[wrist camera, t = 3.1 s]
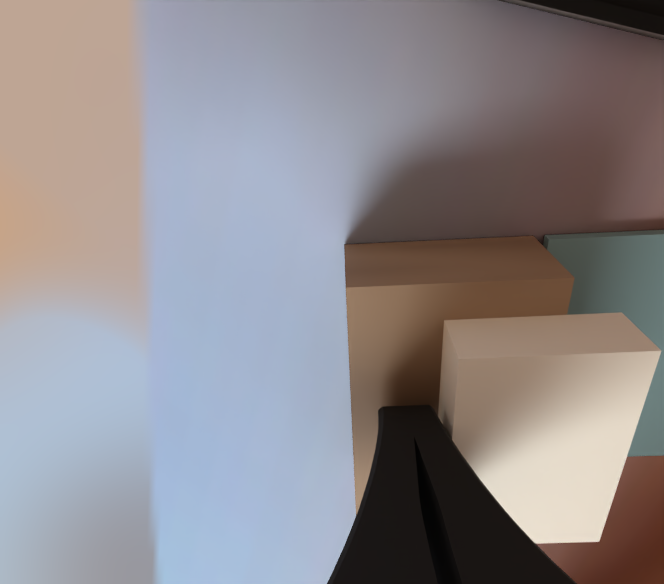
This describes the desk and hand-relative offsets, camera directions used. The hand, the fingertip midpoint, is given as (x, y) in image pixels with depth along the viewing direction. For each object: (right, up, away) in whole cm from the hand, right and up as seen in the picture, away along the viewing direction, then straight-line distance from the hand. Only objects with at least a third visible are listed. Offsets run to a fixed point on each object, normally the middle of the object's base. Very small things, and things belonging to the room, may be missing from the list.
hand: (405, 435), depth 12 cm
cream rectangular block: (+3, 0, 0) cm, 3 cm away
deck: (+1, +1, +3) cm, 3 cm away
